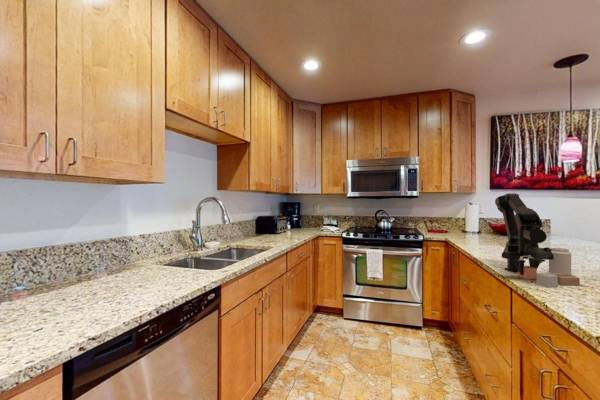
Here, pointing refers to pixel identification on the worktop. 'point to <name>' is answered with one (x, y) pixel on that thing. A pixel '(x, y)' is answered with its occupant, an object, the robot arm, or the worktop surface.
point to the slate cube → (547, 280)
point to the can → (560, 261)
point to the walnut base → (567, 279)
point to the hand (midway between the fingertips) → (527, 274)
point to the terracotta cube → (529, 273)
